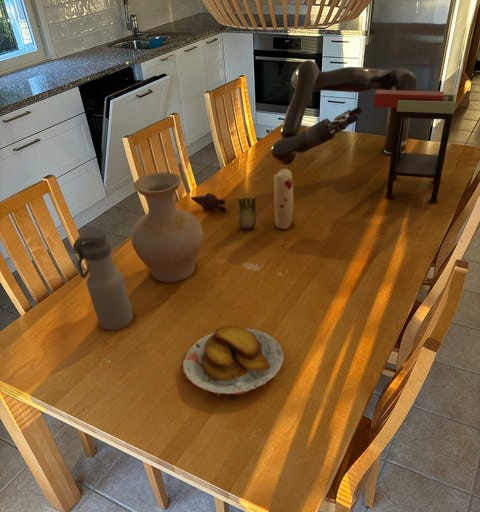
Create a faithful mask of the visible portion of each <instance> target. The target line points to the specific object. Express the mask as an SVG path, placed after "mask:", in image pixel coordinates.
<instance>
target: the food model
mask: <svg viewBox="0 0 480 512" xmlns="http://www.w3.org/2000/svg"><path fill="white" fill-rule="evenodd" d="M293 182H294V181H293V173H292V171H291V170H290V169H288V168H281V169H280V170H279V171H278V172H277V174H276V173H275V174H274V176H273V194H274V195H273V204H274V221H275V226H276V227H277V229H281V230H287V229H289V228H290V226H291V225H292V222H293V214H294V183H293Z"/></svg>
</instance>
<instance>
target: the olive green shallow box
mask: <svg viewBox="0 0 480 512" xmlns="http://www.w3.org/2000/svg"><path fill="white" fill-rule="evenodd" d="M443 97H448V101H447V102H442V101H412V100H398V105H397V111H400V112H425V113H450V114H453V115H454V112H455V107H456V99H457V94H452V93H444V95H443Z"/></svg>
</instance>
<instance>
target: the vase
mask: <svg viewBox="0 0 480 512" xmlns="http://www.w3.org/2000/svg"><path fill="white" fill-rule="evenodd" d="M181 182H182V177H181V176H180V175H178V174H177V173H174V172H167V171H163V172H161V171H160V172H159V171H158V172H153V173H148V174H145V175H142V176H141V177H139V178H138V179H136V180H135V181H134V183H133V187H134V189H135V190H136V191H137V192H138V193H139V195H142V196H144V197H145V199H146V202H147V208H148V212H147V213H145V214H144V215H142V216H141V217H140V218H139V219H137V220H136V222H135V223H134V225H133V227H132V229H131V233H130V241H131V245H132V248H133V250H134V252H135V253H136V255H137V257H138V258H139V259H140V261H142V263H143V264H144V265H145V266H146V267H147V268H148V270H149V271H150V273H151V275H152V277H153V278H154V279H155V280H156V281H159V282H163V283H175V282H180V281H183V280H185V279H187V278H189V277H190V276H191V275H193V274H194V271H195V269H196V268H195V267H196V262H197V258H198V256H199V253H200V251H201V247H202V244H203V239H204V238H203V236H204V233H203V227H202V224H201V222H200V220H199V219H197V217H196V216H195V215H194V214H192V213H190V212H189V211H186V210H184V209H181V208H177V205H176V202H175V191H177V190H178V189H179V187H180V185H181Z"/></svg>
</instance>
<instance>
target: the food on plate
mask: <svg viewBox="0 0 480 512" xmlns="http://www.w3.org/2000/svg"><path fill="white" fill-rule="evenodd" d="M197 345H198V346H197ZM285 357H286V356H285V352H284V349H283V347H282V344H281V343H280V342H279V340H277V339H276V338H275V337H274V336H272V335H270V333H266V332H264V331H261V330H257V329H252V328H247V327H240V326H236V325H224V326H220V327H217V328H216V329H215V330H214V331H213V332H212V333H208V334H207V335H205V336H203V337H201V338H199V339H197V340H196V341H195V343H194V344H193V345H192V346H191V347H190V348H189V350H188V352H187V353H186V356H185V358H184V359H183V360H182V369H183V370H182V371H183V375H184V381H188V382H189V383H191V384H192V385H193V386H196V388H200V390H204V391H207V392H211V393H214V394H217V395H216V397H219V396H220V394H224V395H233V394H234V395H236V396H238V395H242V394H245V393H248V392H250V391H251V390H255V389H257V388H258V387H261V386H263V385H266V384H267V382H269V381H271V379H273V378H274V377H276V375H277V374H278V372H279V371H280V369H281V367H282V365H283V364H284V362H285Z"/></svg>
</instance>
